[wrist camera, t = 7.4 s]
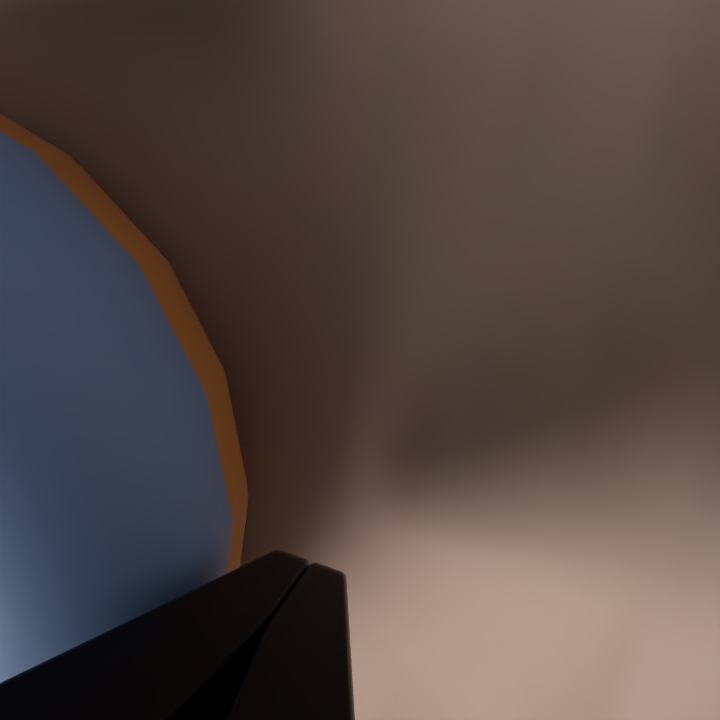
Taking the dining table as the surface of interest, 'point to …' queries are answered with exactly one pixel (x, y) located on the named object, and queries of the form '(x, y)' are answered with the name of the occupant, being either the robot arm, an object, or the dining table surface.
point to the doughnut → (100, 417)
